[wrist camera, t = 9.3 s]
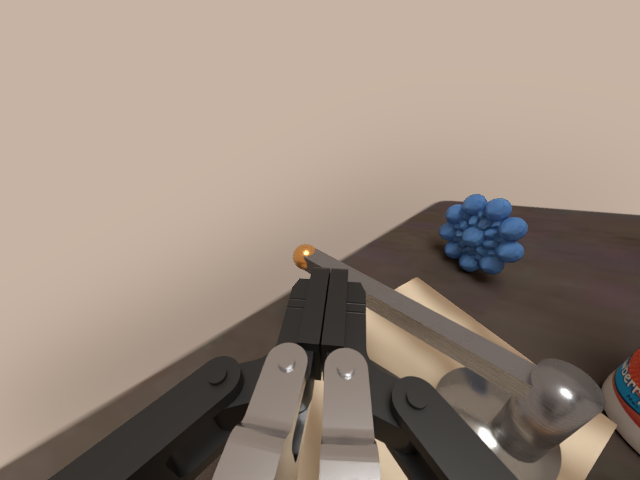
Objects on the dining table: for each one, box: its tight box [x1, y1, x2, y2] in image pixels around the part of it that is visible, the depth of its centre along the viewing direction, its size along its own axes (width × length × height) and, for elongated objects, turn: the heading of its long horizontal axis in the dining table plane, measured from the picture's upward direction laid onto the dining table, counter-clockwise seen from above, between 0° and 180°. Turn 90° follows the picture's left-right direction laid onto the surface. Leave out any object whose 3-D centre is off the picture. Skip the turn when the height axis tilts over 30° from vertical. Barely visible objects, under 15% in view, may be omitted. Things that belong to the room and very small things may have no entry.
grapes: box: [439, 194, 528, 274], centre depth 38 cm, size 12×7×12 cm, turn 26°
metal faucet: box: [293, 244, 605, 480], centre depth 23 cm, size 23×8×9 cm, turn 49°
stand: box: [297, 277, 617, 480], centre depth 24 cm, size 26×20×3 cm
